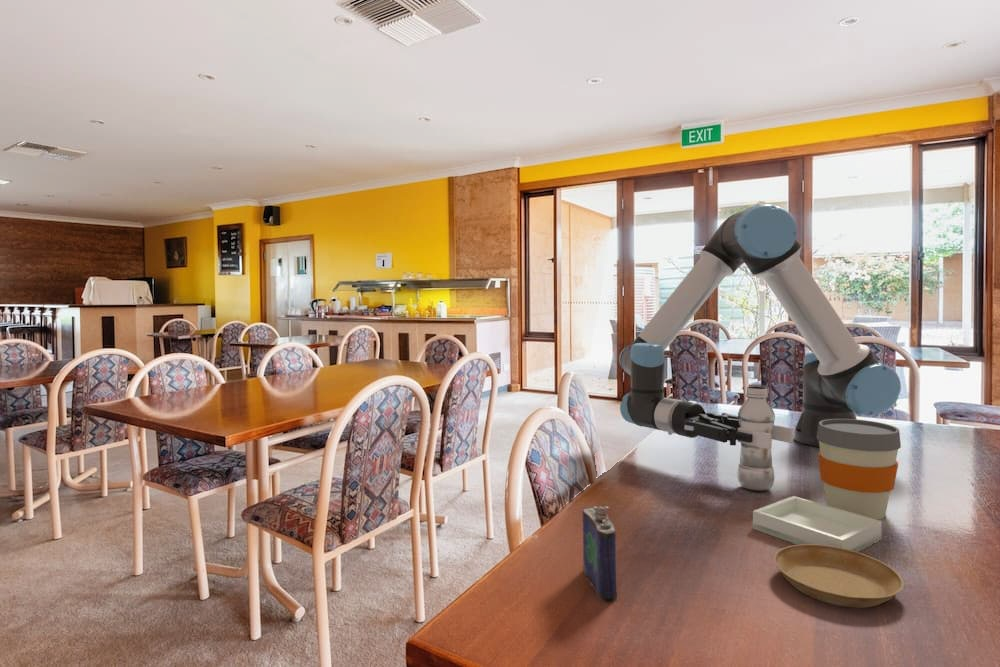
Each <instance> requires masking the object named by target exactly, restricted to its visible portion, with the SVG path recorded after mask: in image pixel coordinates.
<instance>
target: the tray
mask: <svg viewBox="0 0 1000 667" xmlns="http://www.w3.org/2000/svg"><path fill="white" fill-rule="evenodd" d="M882 523H883V520H880V519H879V520H876V519H872V518H869V517H865V516H862V515H858V514H855V513H851V512H848V511H845V510H841V509H838V508H834V507H831V506H827V505H826V504H824V503H819V502H816V501H813V500H810V499H807V498H806V499H805V498H802V497H799V496H796V495H793V496H792V495H791V496H789V497H787V498H784V499H781V500H778V501H776V502H774V503H771V504H768V505H765V506H762V507H760V508H758V509H754V510H753V511H752V530H755V531H757V532H761V533H764V534H767V535H769V536H772V537H775V538H778V539H781V540H782V541H783V540H784V541H786V542H789V543H792V544H794V545H801V544H815V545H826V546H833V547H839V548H843V549H848V550H852V551H855V552H858V553H860V552H861V551H863V550H865V549H867V548H869V547H871V546H873V545H874V544H873V543H875V542H877V541H878V542H880V541H882V529H883V528H882V525H883V524H882ZM879 540H880V541H879ZM878 542H877V543H878ZM872 544H873V545H872ZM875 544H876V543H875ZM870 545H871V546H870ZM868 546H869V547H868ZM866 547H867V548H866Z"/></svg>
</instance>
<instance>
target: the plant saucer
mask: <svg viewBox="0 0 1000 667" xmlns="http://www.w3.org/2000/svg"><path fill="white" fill-rule="evenodd" d="M773 562H774V565H775V566H776V568H777V569H778V570H779V572H780V573H781V574H782V576H783V577H784V578H785V579H786V580H787V581H788V582H789V583H790V584H791V585H792V587H794V588H795V589H797V591H799V592H801V593H803V594H805V595H806V596H807V597H810V598H812V599H815V600H818V601H819V602H822V603H827V604H829V605H830V604H831V605H835V606H840V607H844V608H845V607H846V608H856V609H857V608H859V609H861V608H862V609H863V608H872V607H876V606H879V605H881V604H883V603H885V602H887V601H889V600H891V599H893V598H894V597H895V596H897V594H899V593H900V592H901V591H902V590H903V588H904V580H903V577H902V576H901V575H900V574H899V573H898V572H897V571H896V570H895V569H893V568H892V567H891V566H890V565H888V564H886V563H884V562H882V561H881V560H879V559H877V558H874V557H872V556H869V555H866V554H865V553H861V552H855V551H852V550H848V549H843V548H839V547H833V546H826V545H815V544H801V545H797V544H794V545H788V546H785V547H782V548H780V549H779V550H776V552H775V553H774V555H773Z"/></svg>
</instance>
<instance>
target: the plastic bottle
mask: <svg viewBox="0 0 1000 667" xmlns="http://www.w3.org/2000/svg"><path fill="white" fill-rule="evenodd" d="M768 392H769V390H768V387H766V386H759V385H751V386H746V393H745V397H746V398H747V399H746V400H745V401H744V402H743V403H742V404H741V406H740V408H739V409H738V411H737V416H738V418H739V426H740V428H745V429H750V430H754V431H759V432H764V433H769V434H772V432H773V426H774V425H775V419H776V415H775V412H774V409H773V408H772V406H771V405H770V403H769V402H768V401H767V398H769V394H768ZM739 454H740V455H739V463H738V468H737V472H736V474H737V476H736V477H737V481H738V483H739V485H740V486H741V487H742V488H745V489H747V490H753V491H759V492H761V491H768V490H771V488H772V487H773V486H774V483H775V478H776V477H775V471H774V467H773V456H772V449H766V448H762V447H758V446H753V445H749V444H744V443H740V453H739Z"/></svg>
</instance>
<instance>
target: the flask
mask: <svg viewBox="0 0 1000 667" xmlns="http://www.w3.org/2000/svg"><path fill="white" fill-rule="evenodd" d="M605 510H609V506H607V505H605V506H596V505H594V506H593V507H590V508H584V509H583V510H582V547H583V548H582V571H583V574H584V575H583V576H584V577H586V578H587V581H588V584H589V585H590V586H591V587H593V590H594V591H595V592H596V596H597V597H598V600H600V601H602V602H604V603H614V602H616V601H617V599H618V598H617V597H618V592H617V555H616V554H617V552H616V550H617V547H616V545H617V544H616V541H617V540H616V539H617V535H616V534H617V532H616V529H615V526H614V524H613V522H612V521H611V519H610V518H609V516H608V514H607V513H606V512H605Z"/></svg>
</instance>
